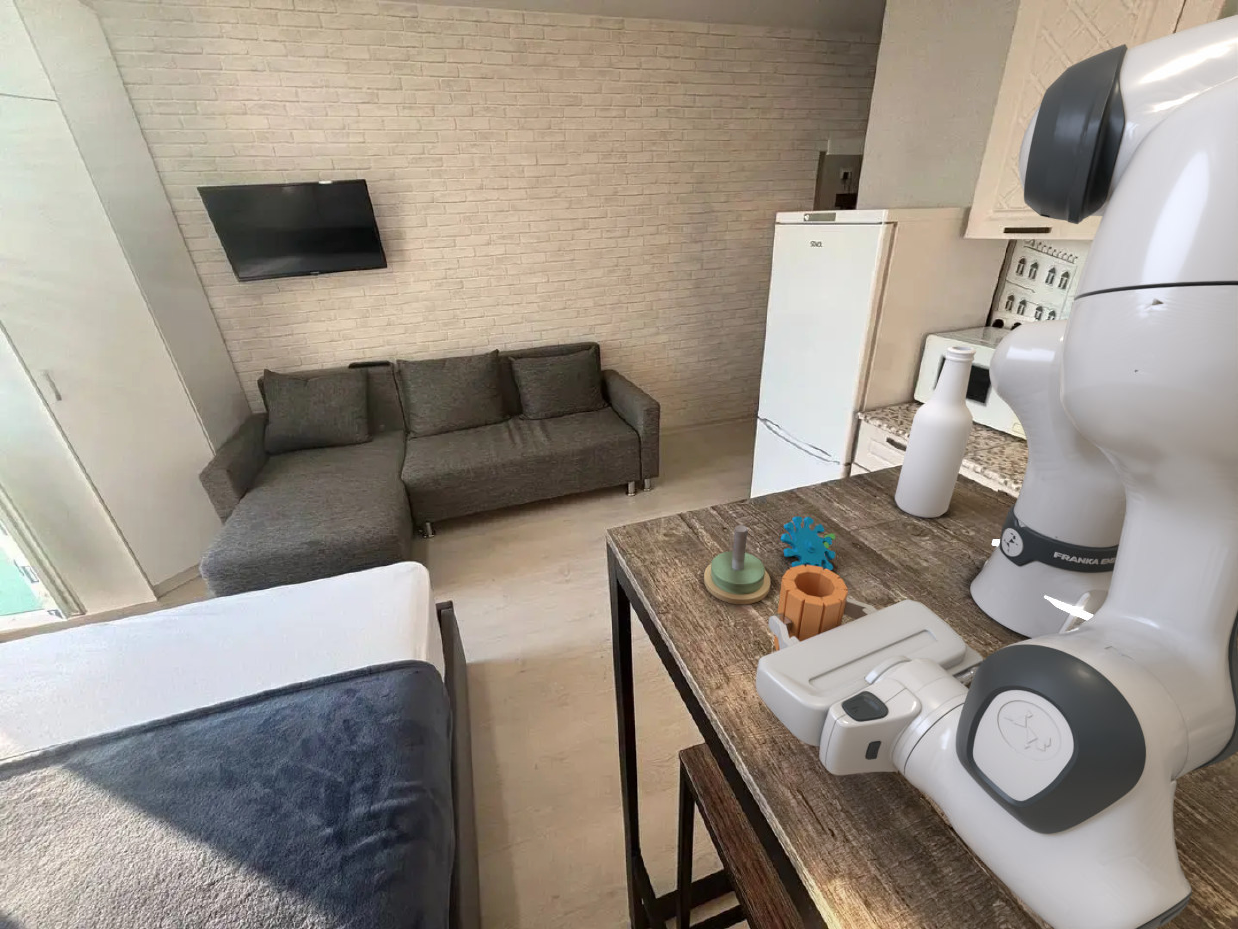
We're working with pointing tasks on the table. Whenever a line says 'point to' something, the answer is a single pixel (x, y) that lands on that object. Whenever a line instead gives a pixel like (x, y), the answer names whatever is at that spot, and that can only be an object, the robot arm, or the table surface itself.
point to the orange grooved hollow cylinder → (811, 601)
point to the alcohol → (938, 441)
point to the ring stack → (737, 574)
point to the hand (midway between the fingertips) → (803, 608)
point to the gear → (808, 544)
